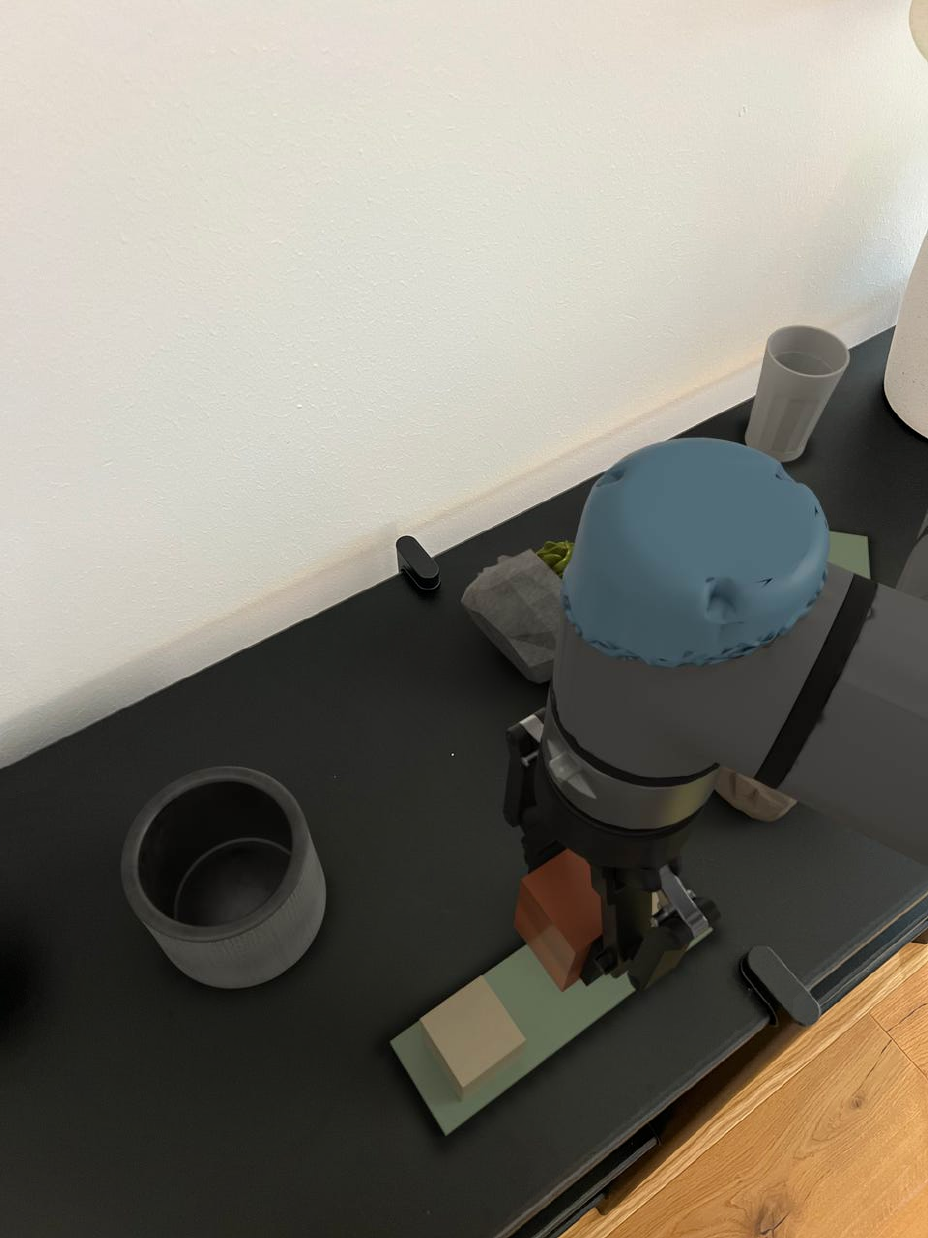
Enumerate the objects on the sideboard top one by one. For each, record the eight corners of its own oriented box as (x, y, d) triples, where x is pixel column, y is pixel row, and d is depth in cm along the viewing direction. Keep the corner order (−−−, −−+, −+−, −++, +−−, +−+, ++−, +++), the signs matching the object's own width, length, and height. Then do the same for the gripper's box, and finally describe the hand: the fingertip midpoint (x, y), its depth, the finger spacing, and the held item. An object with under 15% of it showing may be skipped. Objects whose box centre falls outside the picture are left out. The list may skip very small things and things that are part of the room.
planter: (216, 806, 77) (185, 739, 68) (355, 864, 74) (342, 802, 65) (127, 951, 70) (78, 898, 61) (277, 1021, 67) (249, 975, 58)
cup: (731, 457, 101) (761, 366, 91) (743, 409, 105) (772, 318, 96) (808, 474, 99) (846, 384, 90) (815, 425, 104) (853, 334, 94)
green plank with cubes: (649, 858, 75) (662, 829, 70) (711, 932, 71) (728, 906, 67) (389, 1043, 66) (385, 1024, 62) (445, 1136, 63) (445, 1123, 58)
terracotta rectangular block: (575, 882, 62) (589, 832, 56) (624, 946, 60) (645, 902, 53) (513, 925, 60) (521, 879, 54) (561, 993, 58) (575, 953, 51)
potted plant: (443, 585, 86) (574, 490, 88) (520, 696, 89) (645, 602, 90) (471, 596, 74) (622, 487, 76) (559, 724, 77) (703, 616, 79)
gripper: (436, 648, 43) (440, 848, 62) (709, 986, 35) (617, 1099, 54) (566, 576, 46) (532, 789, 65) (850, 875, 37) (715, 1020, 56)
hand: (571, 929), depth 59 cm, fingers closed on terracotta rectangular block, 5 cm apart
